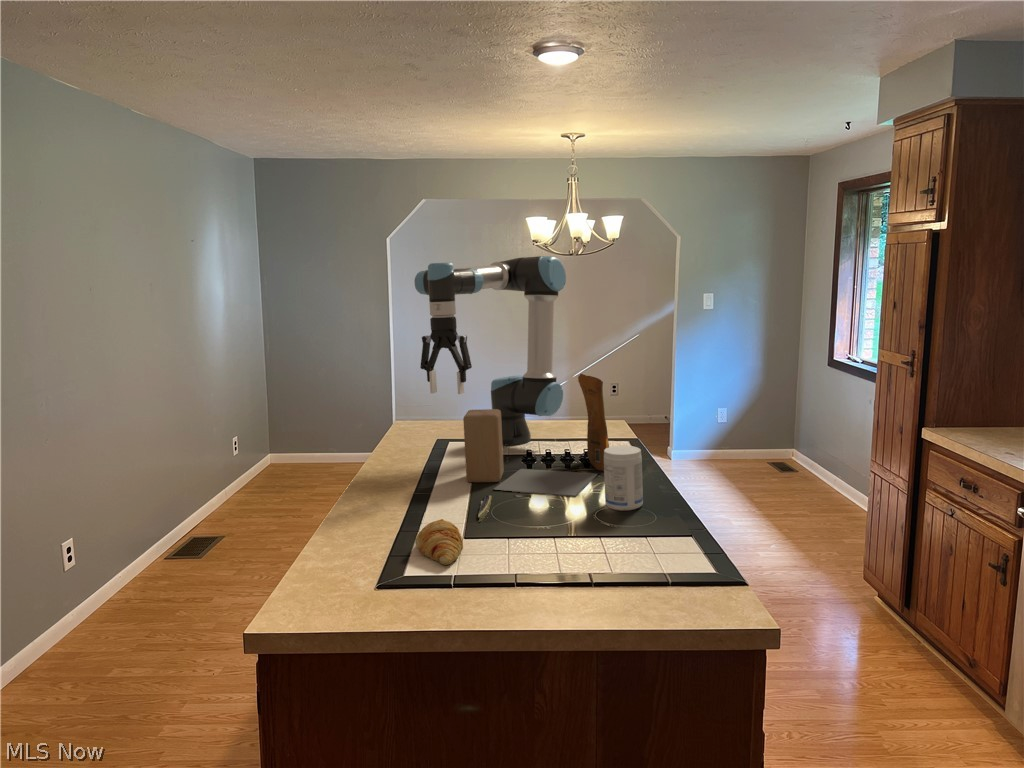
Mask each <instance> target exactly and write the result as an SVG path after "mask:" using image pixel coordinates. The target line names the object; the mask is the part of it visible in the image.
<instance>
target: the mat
mask: <svg viewBox="0 0 1024 768" xmlns="http://www.w3.org/2000/svg"><path fill="white" fill-rule="evenodd" d="M597 476H598V473H596V472H595V473H593V472H575V471H564V470H561V471H560V470H549V469H548V470H546V469H545V470H544V469H529V468H520V469H519V470H517V471H516V472H515V473H513V474H511V475H510V476H509V477H508V478H506V479H505V480H504V481H502V482H501V483H500V484H498V485H496V487H494V488H493V489H495V490H504V491H512V492H511V493H517V492H520V493H521V494H530V495H532V494H534V495H545V496H555V497H556V496H557V497H569V498H570V497H572V498H576V497H577V496H578V495H579V494H580V493H582V491H583V490H584V489H585V488H586V487H587V486H588V485H589V484H590V483H591V482H592V481H593V480H594V479H595V478H596V477H597ZM520 493H519V494H520Z"/></svg>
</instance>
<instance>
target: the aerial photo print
mask: <svg viewBox="0 0 1024 768" xmlns="http://www.w3.org/2000/svg"><path fill="white" fill-rule="evenodd" d="M492 496H493V495H484V496H483V500H481V501H480V505H479V510H478V516H477V518H479V520H478V523H479V522H480V521H482V520H483V519H484V518H485V516H486V515H487V513H488V512H489V509H490V505H491V500H492ZM514 496H516V497H522V496H524V497H529V498H527V499H531V498H532V494H530V495H529V494H525V495H524V494H523V495H522V494H518V495H517V494H513V497H514ZM516 497H515V498H516ZM522 511H523V510H521V512H522ZM482 522H483V521H482Z"/></svg>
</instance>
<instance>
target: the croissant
mask: <svg viewBox="0 0 1024 768" xmlns="http://www.w3.org/2000/svg"><path fill="white" fill-rule="evenodd" d="M414 543H415V546H416V548H417V550H419V552H421V554H423V556H425V557H427V558H429V559H431V560H433V561H435V562H437V563H439V564H441V565H443V566H448V565H450V564H452V563H453V562H454V561H456V560H457V559H458V558H459V556H460V555H461V553H462V551H463V549H464V543H463V539H462V535H461V533H460V531H459V529H458V527H457V526H456V525H455V524H453V522H451V521H448V520H444V519H438V520H435V521H432V522H430V523H428V524H426V525H425V526H424V527H423V528H422V529H421V530H420V531H419V532H418V534H417V535H416V537H415V541H414Z"/></svg>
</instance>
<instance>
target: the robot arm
mask: <svg viewBox="0 0 1024 768" xmlns="http://www.w3.org/2000/svg"><path fill="white" fill-rule="evenodd" d="M413 281H414V287H415V289H416V291H417V292H418V293H419V294H420V295H427V296H428V297H429V298H428V301H429V315H430V316H431V317H430V320H429V321H430V323H429V324H430V330H431V332H430V335H423V336H421V342H422V349H421V357H420V358H421V359H420V368H419V369H421V370H425V371H426V381H427V382H428V383H429V386H430V387H429V388H430V389H429V390H430V391H429V392H430V394H436V393H437V392H438V387H437V386H438V385H437V372H436V370H435V368H434V367H435V365H436V362H437V359H438V357H439V353H440V351H441V350H442V349H448V351H449V352H450V354H451V356H452V359H453V360H454V363H455V364H456V367H457V369H458V371H456V381H457V382H456V383H457V384H456V385H457V395H462V394H464V393H465V386H464V385H465V383H466V382H467V370H470V369H472V366H473V365H472V362H471V357H470V356H471V355H470V352H469V347H468V343H467V341H468V336H467V335H465V334H464V335H463V334H462V335H461V334H458V331H457V317H456V313H457V310H456V295H472V294H476V293H479V292H480V291H481V290H485V289H492V290H495V291H515V292H524V294H523V295H524V298H525V299H526V300H527V302H528V314H527V315H528V317H527V323H528V324H527V363H526V364H527V366H526V367H527V368H526V369H527V370H526V372H525V373H524V374H523V375H519V374H518V375H511V376H502V377H498V378H494V379H493V380H492V381H491V383H490V385H491V386H490V388H491V389H490V399H491V400H490V401H491V402H490V403H491V409H498V410H500V411H501V422H502V444H503V446H514V445H523V444H526V443H529V442H531V439H532V437H531V436H532V435H531V432H530V429H529V426H528V423H527V421H526V415H532V416H538V417H549V416H553V415H555V414H556V413H558V410H560V409H561V406H562V403H563V399H564V390H563V389H564V388H562V385H561V384H560V383H558V382H557V375H555V373H554V372H553V355H554V354H553V353H554V352H553V350H554V347H553V346H554V309H555V308H554V305H555V301H556V300H557V299H558V298H559V292H560V291H562V290H563V289H564V288H565V286H566V281H567V275H566V270H565V266H564V265H563V263H562V261H561V260H560V259H559V258H558V257H556V256H551V255H549V256H546V255H542V256H540V255H539V256H529V257H527V256H526V257H525V256H523V257H517V258H511V259H507V260H502V261H496V262H492V263H490V264H489V265H480V266H467V267H457V268H455V267H454V264H453V263H452V262H432V263H431V262H430V263H429V264H428V265H427V269H425V270H421V271H420V270H419V271H418V272H417V273H416V275H415V277H414V280H413ZM456 341H457V342H458V343H459V349H460V353H461V354H460V353H459V350H458V346H457V343H456ZM431 342H433V345H432V350H431V354H430V349H431Z"/></svg>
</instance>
